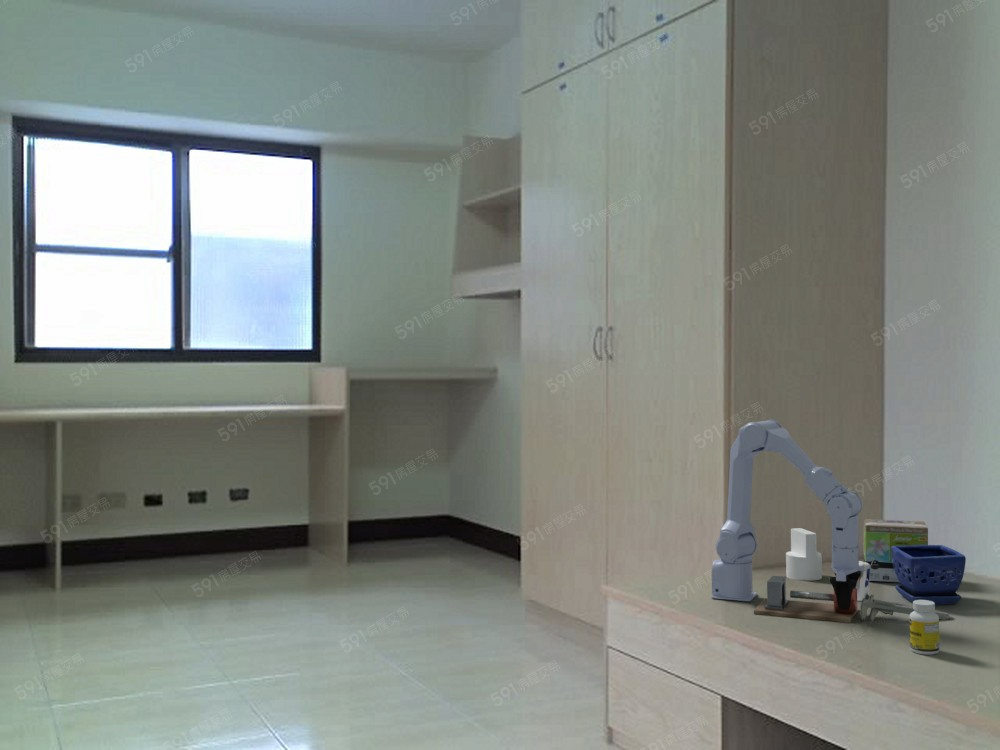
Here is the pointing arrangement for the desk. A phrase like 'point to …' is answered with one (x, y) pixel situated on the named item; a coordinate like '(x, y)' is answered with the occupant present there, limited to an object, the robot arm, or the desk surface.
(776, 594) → the slotted metal block
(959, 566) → the flower pot
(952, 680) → the desk surface
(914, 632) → the supplement bottle
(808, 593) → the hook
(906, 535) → the tea box
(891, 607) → the caliper
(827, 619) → the board
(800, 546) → the base with upright slab
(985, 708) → the desk surface
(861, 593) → the milkshake
